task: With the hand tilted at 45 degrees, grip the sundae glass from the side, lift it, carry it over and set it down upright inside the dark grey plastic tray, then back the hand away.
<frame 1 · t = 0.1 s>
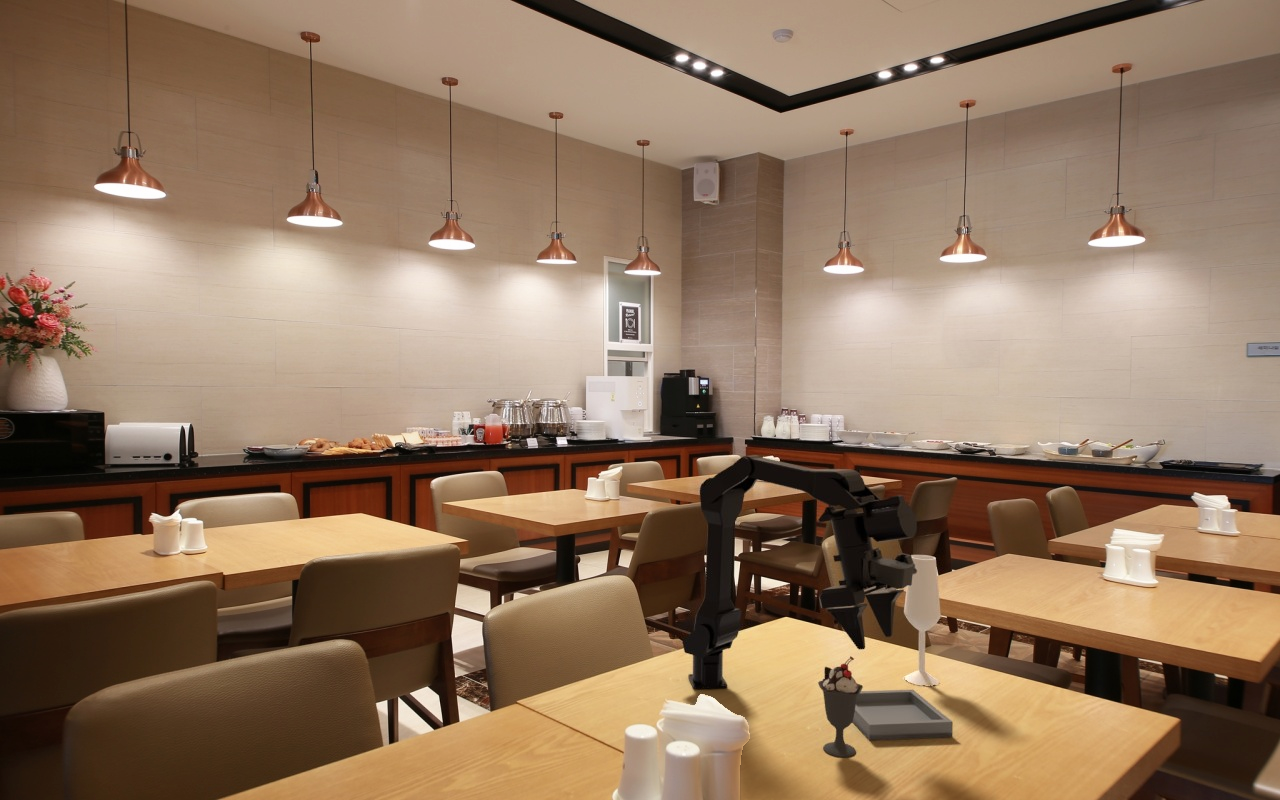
hand: (875, 642, 125), 15 cm above the table, tool pointing down, fingers open, 9 cm apart
tray: (892, 720, 132), on the table
champagne flute: (921, 681, 151), on the table
sundae: (839, 751, 121), on the table
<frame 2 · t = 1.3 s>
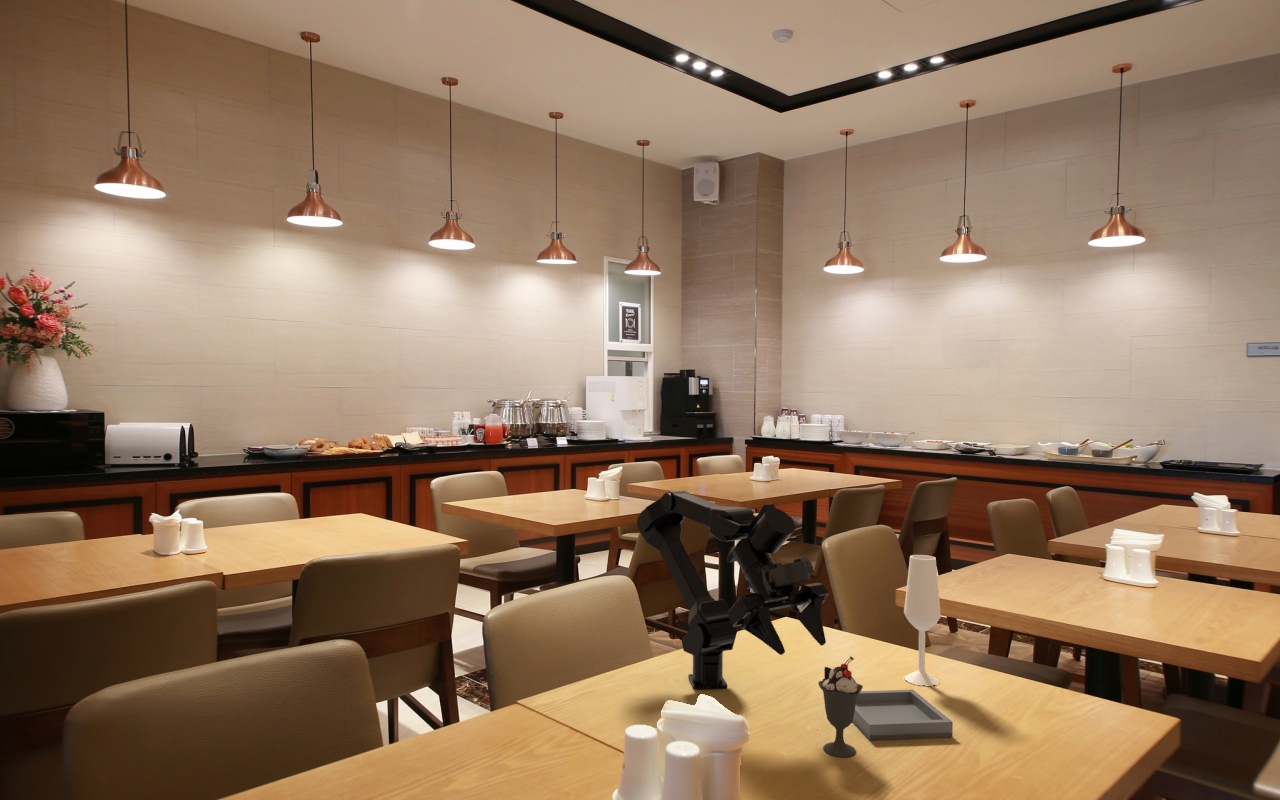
hand: (803, 648, 127), 14 cm above the table, tool tilted 45°, fingers open, 9 cm apart
nothing on the table moved.
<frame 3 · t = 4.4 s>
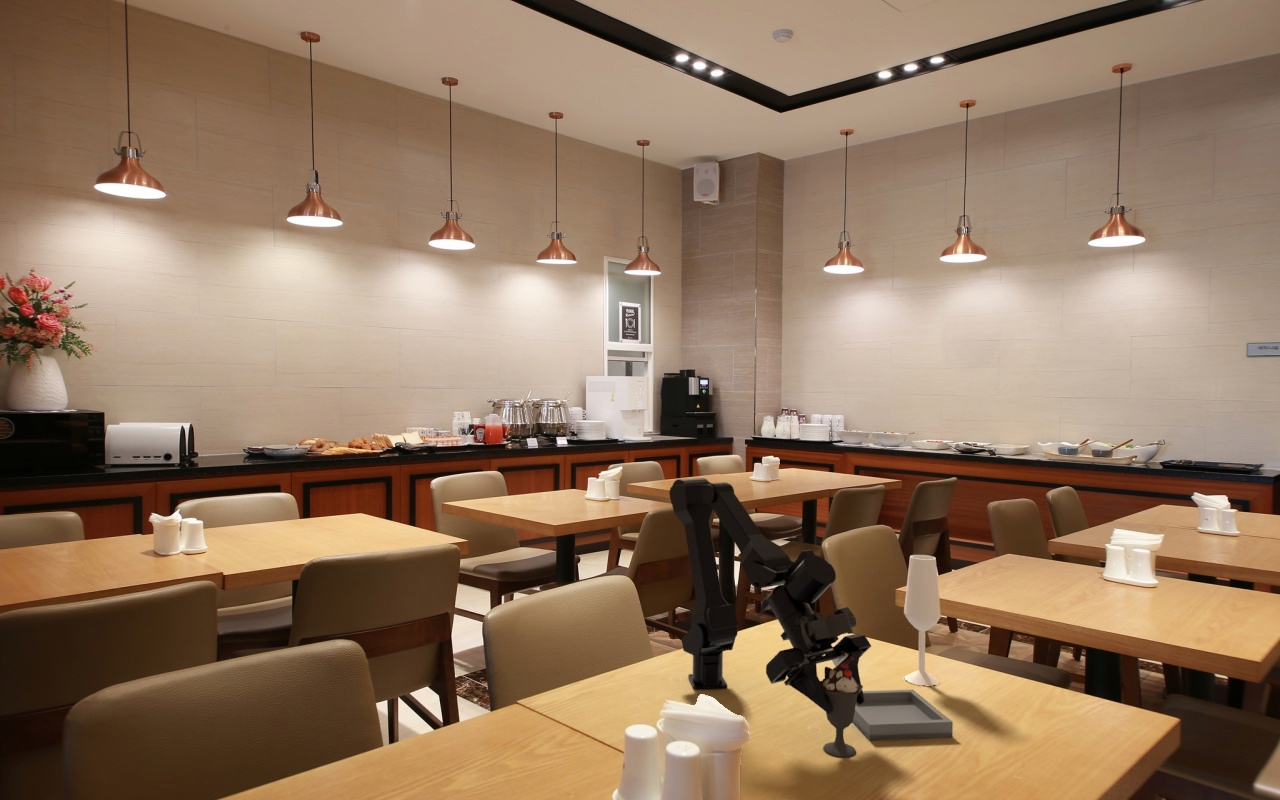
hand: (847, 707, 119), 7 cm above the table, tool tilted 45°, fingers closed on sundae, 6 cm apart
sundae: (839, 751, 121), on the table, touching gripper
everything else where it was.
when the fingers open (9 cm above the table, at t = 9.7 s): sundae drops 1 cm, resting on tray.
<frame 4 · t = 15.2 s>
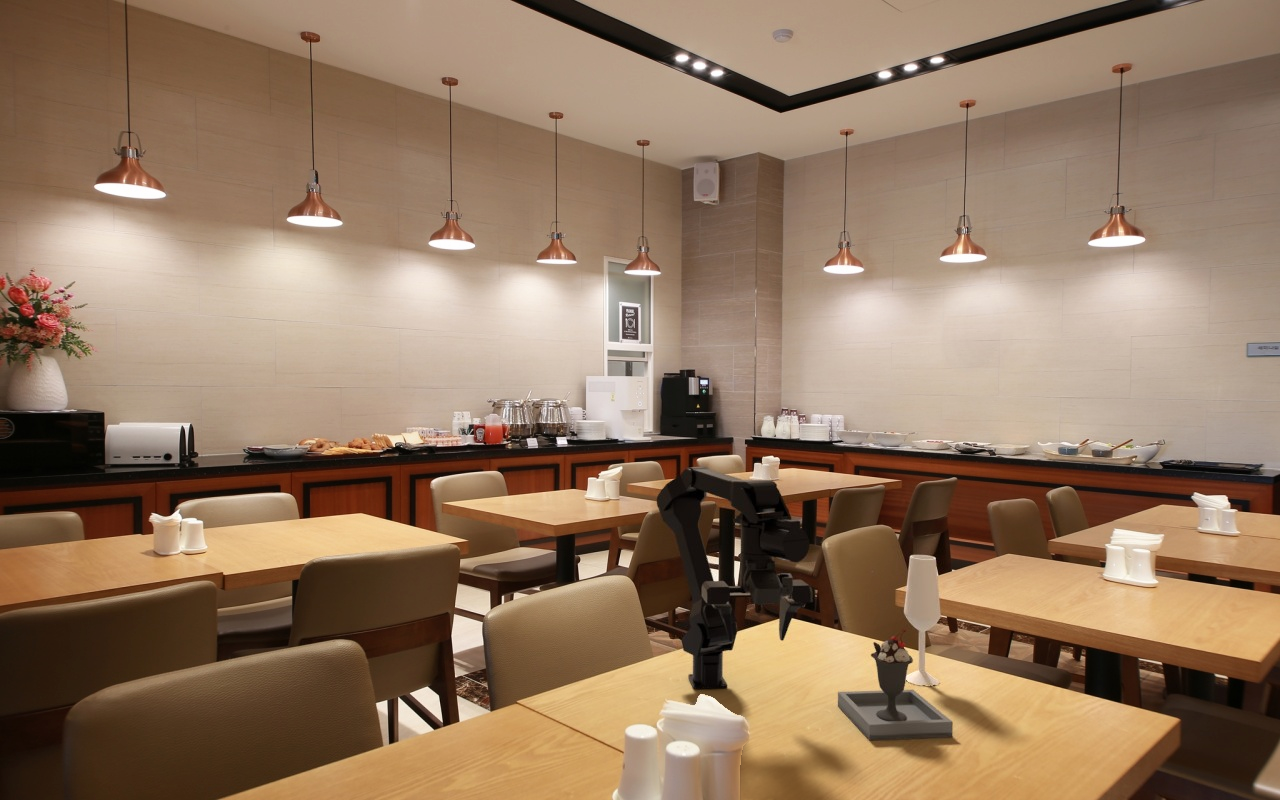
hand: (756, 640, 137), 12 cm above the table, tool pointing down, fingers open, 9 cm apart
sundae: (891, 717, 132), point 1 cm above the table, touching tray
everything else where it was.
at the end: sundae inside the target area on the tray (0.1 cm from its centre), point 0.6 cm above the tray's base; sundae tilted 0°; the gripper is holding nothing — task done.
